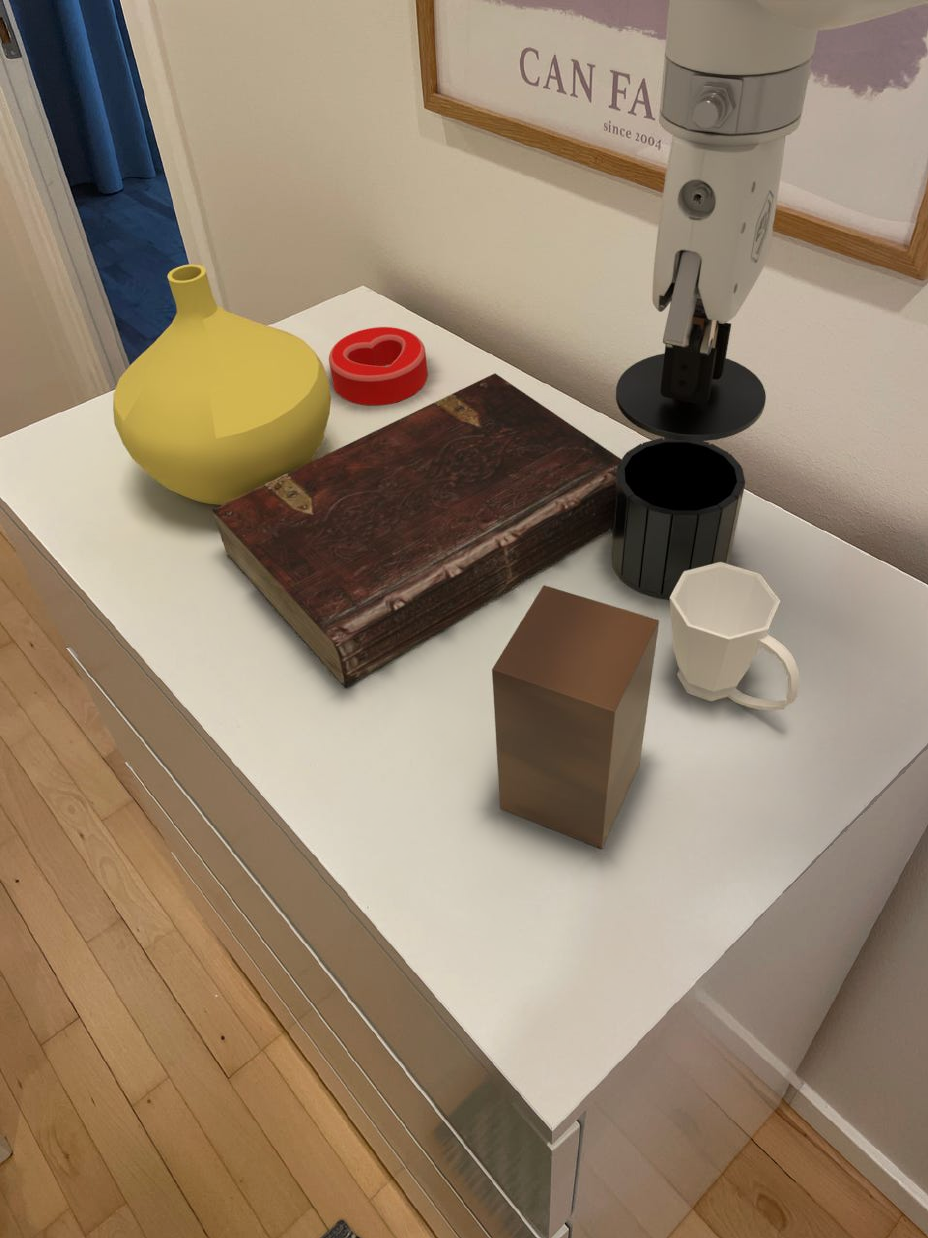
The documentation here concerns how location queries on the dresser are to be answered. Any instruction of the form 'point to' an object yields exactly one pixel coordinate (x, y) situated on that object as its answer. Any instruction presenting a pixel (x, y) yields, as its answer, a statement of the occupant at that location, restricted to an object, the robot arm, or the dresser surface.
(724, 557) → the dark grey slatted bucket
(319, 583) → the book
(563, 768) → the stand
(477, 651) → the dresser surface
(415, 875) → the dresser surface
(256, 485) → the vase
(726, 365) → the lid
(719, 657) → the cup
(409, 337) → the decorative ornament
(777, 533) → the dresser surface
